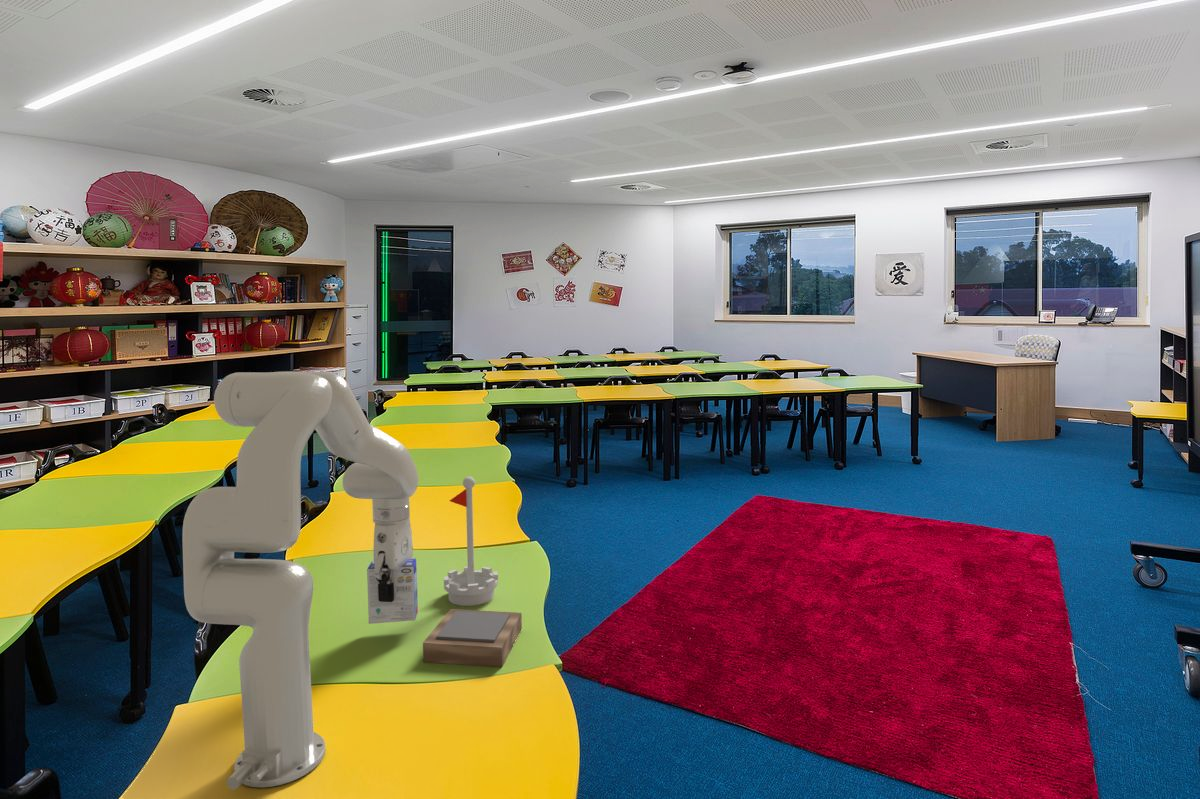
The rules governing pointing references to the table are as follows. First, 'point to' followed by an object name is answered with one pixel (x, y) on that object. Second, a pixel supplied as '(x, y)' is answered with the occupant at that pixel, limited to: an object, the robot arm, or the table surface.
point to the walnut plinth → (473, 638)
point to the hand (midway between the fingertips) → (393, 594)
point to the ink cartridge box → (403, 595)
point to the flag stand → (470, 563)
